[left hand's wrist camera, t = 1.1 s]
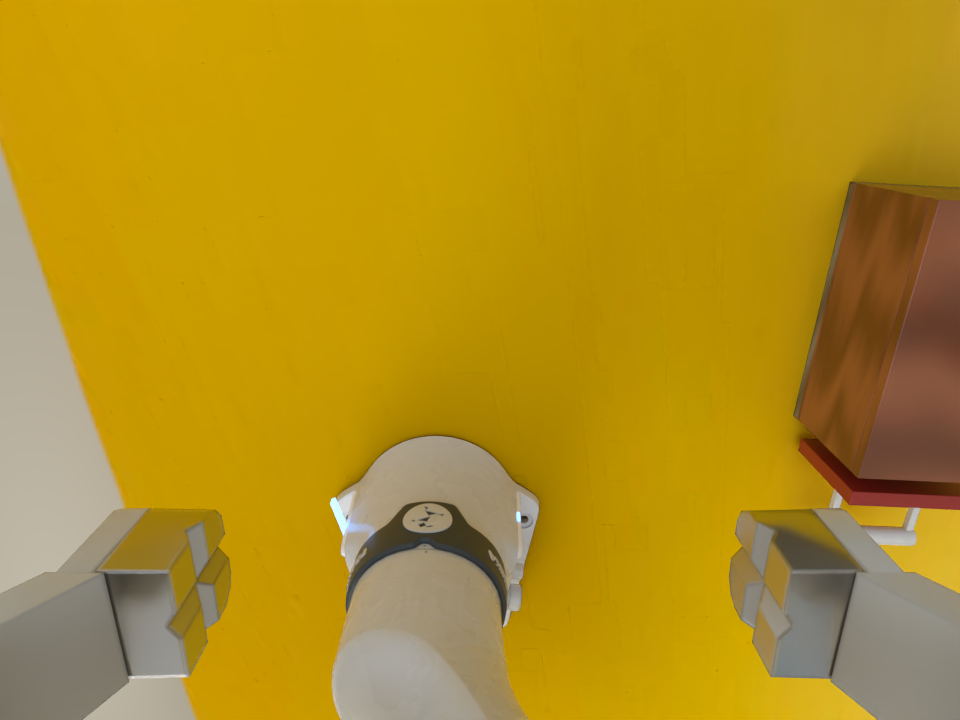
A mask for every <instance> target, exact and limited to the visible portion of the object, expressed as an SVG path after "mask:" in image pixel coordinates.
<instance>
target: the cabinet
mask: <svg viewBox="0 0 960 720" xmlns="http://www.w3.org/2000/svg"><path fill="white" fill-rule="evenodd" d="M793 416H794V417H795V418H796V419H798V420H799V421H800V422H801V423H802V424H803V425H804V426H805V427H806V428H807V429H808V430H809V431H810V432H811V433H812V434H813V435H814V436H815V437H816V438H817V439H818V440H819V441H821V442H822V443H823V444H824V445H825V446H826V447H827V448H828V449H829V450H830V451H831V452H832V453H833V454H834V455H835V456H836V457H837V458H838V459H839V460H840V461H841V462H842V463H843V464H844V465H845V466H846V467H847V468H848V469H849V470H850V471H852V473H853V474H854V475H855V476H856V477H857V478H866V479H888V480H910V481H932V482H954V483H960V188H957V187H938V186H919V185H901V184H882V183H864V182H850V185H849V189H848V193H847V198H846V202H845V206H844V210H843V214H842V218H841V222H840V226H839V230H838V235H837V239H836V243H835V247H834V251H833V255H832V259H831V263H830V267H829V271H828V276H827V280H826V284H825V288H824V292H823V296H822V300H821V304H820V308H819V313H818V317H817V321H816V325H815V329H814V333H813V337H812V341H811V345H810V349H809V354H808V358H807V362H806V366H805V370H804V374H803V378H802V382H801V386H800V391H799V395H798V399H797V403H796V407H795V411H794V415H793Z"/></svg>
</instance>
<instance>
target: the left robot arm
mask: <svg viewBox="0 0 960 720" xmlns="http://www.w3.org/2000/svg"><path fill="white" fill-rule="evenodd" d="M330 504H331V507H332V509H333V511H334V514H335V516H336V518H337V521H338V523H339V526H340V528H341V531H342V534H343V540H342V545H341V555H342V556H344V557H345V559H346V564H347V567H348V569H349V572H350V575H349V580H348V584H347V595H346V612H347V617H346V620H345V624H344V628H343V632H342V636H341V639H340V643H339V647H338V651H337V655H336V658H335V662H334V666H333V671H332V695H333V700H334V704H335V707H336V710H337V713H338V715H339V717H340V719H341V720H529V718H528V717H527V715H526V714H525V712H524V711H523V709H522V708H521V706H520V704H519V702H518V701H517V699H516V697H515V695H514V693H513V690H512V687H511V685H510V681H509V677H508V671H507V665H506V659H505V651H504V644H503V634H502V628H503V627H504V626H506V624H507V623H508V620H509V617H510V614H511V611H519V609H520V605H521V598H522V587H521V586H520V585H519V582H520V580H521V579H522V577H523V570H524V564H525V560H526V557H527V553H528V549H529V546H530V542H531V539H532V535H533V532H534V528H535V524H536V521H537V517H538V514H539V500H538V498H537V497H536V496H535V495H534V494H532V493H531V492H530V491H528V490H526V489H525V488H523V487H521V486H520V485H518V484H516V483H515V482H514V481H513V480H512V479H511V478H510V477H509V475H508V474H507V472H506V471H505V470H504V468H503V467H502V466H501V464H500V463H499V462H498V461H497V460H496V459H495V458H494V457H493V456H491V455H490V454H489V453H488V452H486V451H485V450H483V449H482V448H480V447H478V446H476V445H474V444H472V443H470V442H467V441H464V440H461V439H457V438H453V437H446V436H425V437H419V438H414V439H410V440H407V441H405V442H402V443H400V444H398V445H396V446H394V447H392V448H390V449H389V450H387V451H386V452H385V453H383V454H382V455H381V456H380V457H379V458H378V459H377V460H376V461H375V462H374V463H373V464H372V466H371V467H370V469H369V470H368V471H367V473H366V474H365V476H364V477H363V478H362V479H361V480H360V481H359V482H358V483H356V484H354V485H352V486H351V487H349V488H347V489H346V490H344V491H343V492H342V493H340V494H339V495H338V497H337V499H336V498H332V500H331V503H330ZM521 516H527V518H525V519H521ZM224 535H225V531H224V526H223V521H222V516H221V515H220V514H219V513H218V512H217V511H216V510H200V509H150V508H125V509H119V510H115V511H113V512H112V513H111V514H110V515H109V516H108V517H107V519H106V520H105V521H104V522H103V523H102V524H101V525H100V526H99V527H98V528H97V529H96V530H95V531H94V532H93V533H92V534H91V536H90V537H89V538H88V539H87V540H86V541H85V542H84V543H83V544H82V545H81V546H80V547H79V548H78V549H77V550H76V551H75V553H74V554H73V555H72V556H71V557H70V558H69V559H68V560H67V561H66V562H65V563H64V564H63V565H62V566H61V567H60V568H59V570H58V571H57V572H45V573H43V574H41V575H39V576H37V577H34V578H32V579H30V580H28V581H26V582H24V583H22V584H20V585H18V586H15V587H13V588H11V589H9V590H7V591H5V592H3V593H1V594H0V720H83V719H84V718H85V717H86V716H88V715H89V714H90V713H91V712H93V711H94V710H95V709H96V708H98V707H99V706H100V705H101V704H102V703H104V702H105V701H106V700H107V699H109V698H110V697H111V696H112V695H113V694H115V693H116V692H117V691H118V690H120V689H121V688H122V687H123V686H125V685H126V684H127V683H128V682H129V679H134V678H167V677H190V675H191V673H192V671H193V669H194V667H195V665H196V663H197V661H198V659H199V658H200V656H201V654H202V652H203V650H204V648H205V646H206V644H207V642H208V640H207V634H206V628H208V627H209V626H211V625H212V624H214V623H215V622H217V621H218V620H219V619H220V617H221V615H222V613H223V611H224V609H225V607H226V604H227V600H228V595H229V591H230V584H231V570H230V563H229V558H228V557H227V556H226V555H225V553H224V552H223V551H222V550H221V549H220V548H219V547H218V545H219V543H220V541H221V540H222V538H223V536H224ZM735 535H736V536H737V538H738V540H739V541H740V543H741V545H742V547H741V548H740V549H739V550H738V551H737V552H736V553H735V555H734V556H733V557H732V558H731V564H730V572H729V581H730V592H731V597H732V600H733V604H734V607H735V609H736V611H737V613H738V615H739V617H740V619H741V620H742V621H743V622H745V623H746V624H748V625H749V626H751V627H752V628H754V634H753V640H752V642H753V644H754V646H755V648H756V650H757V652H758V654H759V656H760V658H761V659H762V661H763V663H764V665H765V667H766V669H767V671H768V673H769V675H770V676H771V677H790V678H826V679H831V682H832V683H833V684H834V685H836V686H837V687H838V688H839V689H841V690H842V691H843V692H844V693H845V694H847V695H848V696H849V697H850V698H852V699H853V700H854V701H855V702H857V703H858V704H859V705H860V706H861V707H863V708H864V709H865V710H866V711H868V712H869V713H870V714H871V715H872V716H874V717H875V718H876V719H877V720H960V594H959V593H957V592H955V591H953V590H951V589H949V588H947V587H945V586H942V585H940V584H938V583H936V582H934V581H932V580H930V579H928V578H926V577H923V576H921V575H919V574H917V573H915V572H903V571H902V570H901V568H900V567H899V566H898V565H897V564H896V563H895V562H894V561H893V560H892V559H891V558H890V557H889V556H888V555H887V554H886V552H885V551H884V550H883V549H882V548H881V547H880V546H879V545H878V544H877V543H876V542H875V541H874V540H873V539H872V538H871V537H870V535H869V534H868V533H867V532H866V531H865V530H864V529H863V528H862V527H861V526H860V525H859V524H858V523H857V522H856V521H855V519H854V518H853V517H852V516H851V515H850V514H849V513H848V512H847V511H845V510H842V509H840V508H822V509H802V510H758V511H741V513H740V515H739V518H738V520H737V525H736V531H735Z"/></svg>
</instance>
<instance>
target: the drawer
mask: <svg viewBox="0 0 960 720" xmlns="http://www.w3.org/2000/svg"><path fill="white" fill-rule="evenodd" d="M798 450H799V451H800V453H801V454H802V455H803V456H804V457H805V458H806V459H807V460H808V461H809V462H810V463H811V464H812V465H813V466H814V468H815V469H816V470H817V471H818V472H819V473H820V474H821V475H822V476H823V477H824V478H825V479H826V480H827V482H828V483H829V484H830V485H831V486H832V487H833V488H834V491H833V494H832V498H831V501H830V505H829V508H840V506H841V502H842V499H844V500H845V501H846V502H847V503H848V504H849V505H863V506H885V507H908V511H907V514H906V517H905V520H904V523H903V527H889V526H867V525H860V526H861V527H862V528H863V529H864V530H865V531H866V532H867V533H868V534H869V535H870V537H871V538H872V539H873V540H874V541H875V542H876V543H877V544H881V545H904V546H913V545H915V543H916V540H917V537H916V533H915V531H914V530H913V529H914V526H915V523H916V520H917V517H918V514H919V511H920V509H921V508H930V509H952V510H960V483H954V482H932V481H910V480H888V479H866V478H857V477H856V476H855V475H854V474H853V473H852V471H850V470H849V469H848V468H847V467H846V466H845V465H844V464H843V463H842V462H841V461H840V460H839V459H838V458H837V457H836V456H835V455H834V454H833V453H832V452H831V451H830V450H829V449H828V448H827V447H826V446H825V445H824V444H823V443H822V442H821V441H819V440H818V439H801V441H800V445H799V449H798Z"/></svg>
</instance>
